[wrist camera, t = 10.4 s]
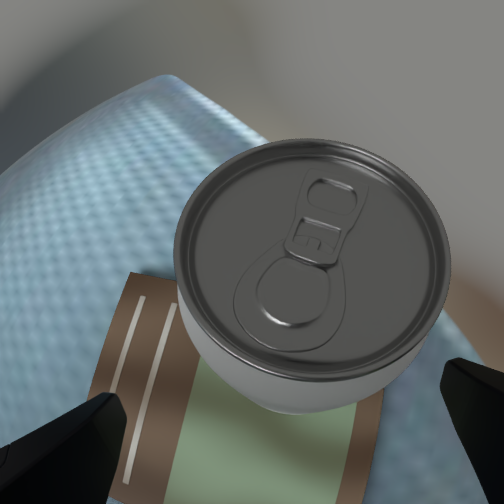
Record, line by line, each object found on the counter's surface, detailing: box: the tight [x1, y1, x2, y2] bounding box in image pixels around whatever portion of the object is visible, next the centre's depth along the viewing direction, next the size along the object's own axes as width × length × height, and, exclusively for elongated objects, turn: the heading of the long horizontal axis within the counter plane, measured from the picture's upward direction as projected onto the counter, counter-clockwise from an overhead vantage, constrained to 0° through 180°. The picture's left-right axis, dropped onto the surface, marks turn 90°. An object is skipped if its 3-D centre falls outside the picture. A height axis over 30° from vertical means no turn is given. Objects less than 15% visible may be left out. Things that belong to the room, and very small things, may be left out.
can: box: [173, 139, 451, 415], centre depth 11 cm, size 6×6×12 cm
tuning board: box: [87, 272, 384, 504], centre depth 15 cm, size 15×17×1 cm
